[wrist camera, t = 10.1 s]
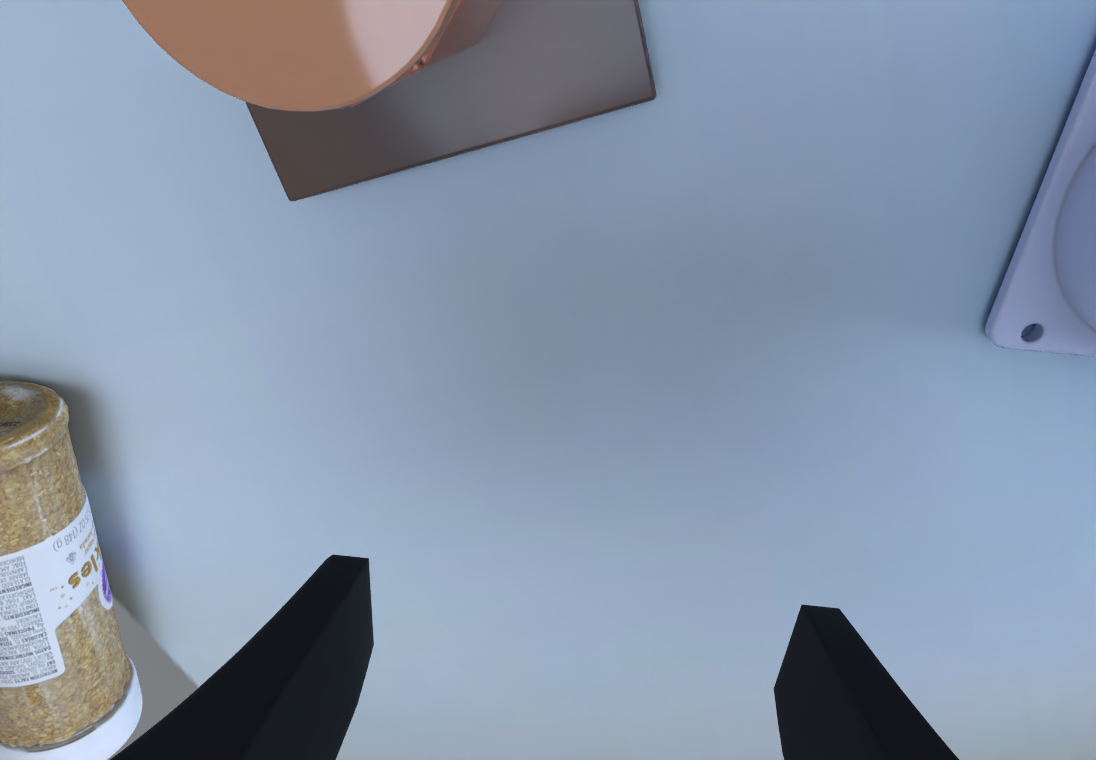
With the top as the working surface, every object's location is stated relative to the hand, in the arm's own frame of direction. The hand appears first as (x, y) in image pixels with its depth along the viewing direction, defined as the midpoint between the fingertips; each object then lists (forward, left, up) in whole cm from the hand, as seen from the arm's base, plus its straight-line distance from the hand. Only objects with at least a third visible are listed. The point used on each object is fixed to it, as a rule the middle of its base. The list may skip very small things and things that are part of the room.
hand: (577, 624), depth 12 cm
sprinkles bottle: (+17, +2, -7) cm, 18 cm away
